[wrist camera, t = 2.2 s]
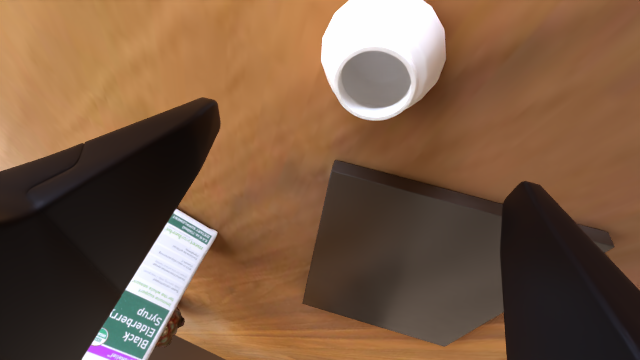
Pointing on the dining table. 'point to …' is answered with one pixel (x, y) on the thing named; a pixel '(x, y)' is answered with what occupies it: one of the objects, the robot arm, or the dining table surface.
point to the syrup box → (153, 291)
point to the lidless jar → (383, 55)
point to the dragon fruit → (170, 329)
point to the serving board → (409, 255)
